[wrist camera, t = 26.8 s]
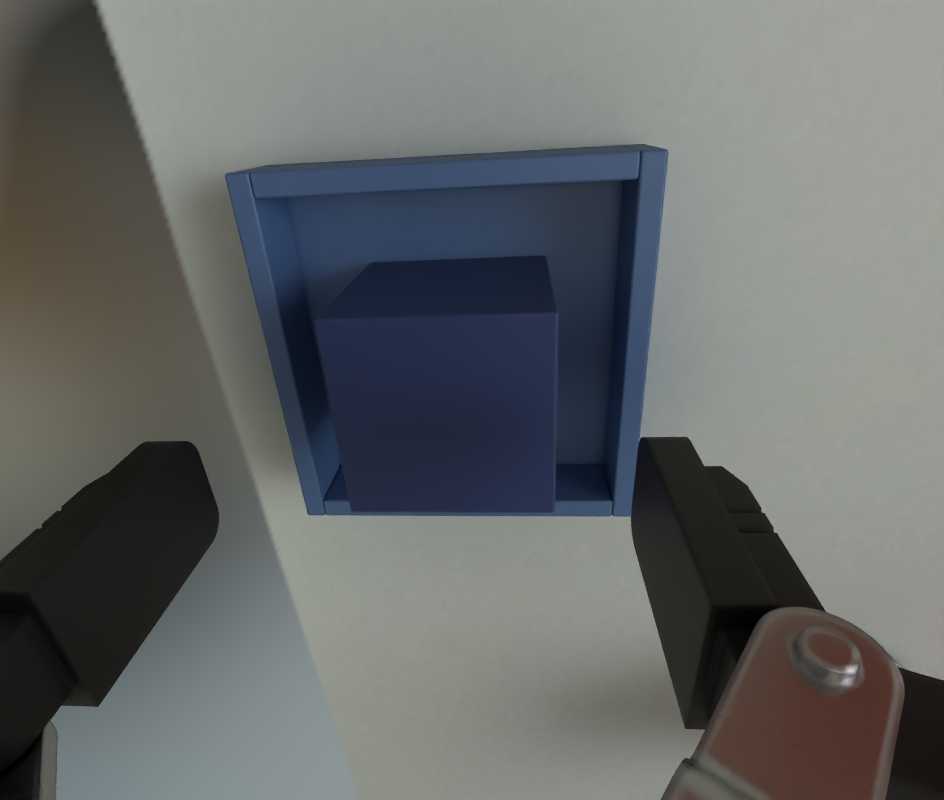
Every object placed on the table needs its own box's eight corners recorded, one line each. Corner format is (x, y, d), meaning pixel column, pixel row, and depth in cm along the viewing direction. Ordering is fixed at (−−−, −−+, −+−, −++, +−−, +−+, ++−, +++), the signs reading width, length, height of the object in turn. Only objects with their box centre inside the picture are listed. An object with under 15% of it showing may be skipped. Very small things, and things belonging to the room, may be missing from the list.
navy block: (391, 414, 18) (350, 513, 13) (370, 261, 16) (311, 319, 11) (545, 413, 17) (555, 514, 13) (546, 254, 15) (559, 312, 11)
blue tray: (330, 471, 20) (307, 516, 17) (266, 165, 15) (223, 173, 13) (618, 470, 19) (632, 517, 17) (645, 143, 14) (669, 149, 12)
